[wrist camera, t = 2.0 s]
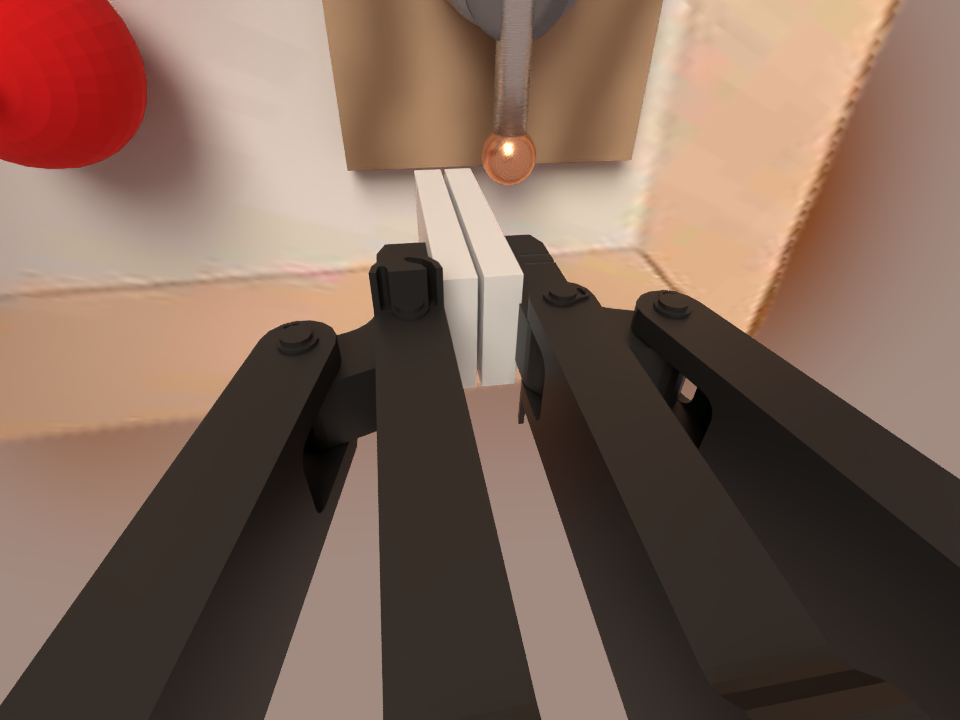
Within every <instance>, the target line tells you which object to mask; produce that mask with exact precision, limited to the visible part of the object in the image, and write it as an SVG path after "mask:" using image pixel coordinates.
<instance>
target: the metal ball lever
mask: <svg viewBox="0 0 960 720" xmlns="http://www.w3.org/2000/svg"><path fill="white" fill-rule="evenodd" d="M446 1H447V3H448V4H449V5H450V6H451V7H452V8H453V9H454V10H455V11H456V12H457V13H458V14H460V15H461V16H462V17H463V18H465V19H466V20H468V21H470V22H471V23H473V24H475V25H477V26H479V27H480V28H481V29H482V30H483V31H484V32H485V33H486V34H488V35H489V36H491V37H492V38H494V39H496V51H495V85H494V120H493V132H492V133H491V134H490V135H489V136H488V138H487V139H486V141H485V143H484V145H483V148H482V164H483V167H484V169H485V171H486V173H487V174H488V176H489V177H490V178H491V179H492V180H494V181H495V182H497V183H499V184H503V185H514V184H517V183H520V182H521V181H523V180H524V179H526V178H527V177H528V176H529V175H530V173H531V172H532V170H533V168H534V165H535V162H536V148H535V145H534V142H533V140H532V138H531V137H530V136H529V134H528V133H527V124H528V109H529V95H530V80H531V66H532V51H533V41H535V40H537V39H538V38H540V37H542V36H543V35H545V34H546V33H547V32H548V31H549V30H550V29H551V28H552V27H553V26H554V25H555V24H556V23H557V21H558V20H559V19H560V18H561V17H563V16H564V15H565V14H566V13H567V12H568V11H569V10H570V9H571V8H572V7H573V6H574V5H575V3H576V2H577V1H578V0H446Z"/></svg>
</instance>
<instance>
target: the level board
mask: <svg viewBox="0 0 960 720" xmlns="http://www.w3.org/2000/svg"><path fill="white" fill-rule="evenodd" d="M322 2H323V9H324V15H325V22H326V29H327V35H328V42H329V49H330V55H331V62H332V69H333V76H334V82H335V89H336V96H337V102H338V109H339V116H340V122H341V129H342V136H343V143H344V149H345V156H346V163H347V169H348V171H353V170H380V169H406V168H433V167H459V166H483V164H482V148H483V145H484V143H485V141H486V139H487V138H488V136H489V135H490V134H491V133H492V132H493V120H494V85H495V51H496V39H494V38H492V37H491V36H489V35H488V34H486V33H485V32H484V31H483V30H482V29H481V28H480V27H479V26H477V25H475V24H473V23H471V22H470V21H468V20H466V19H465V18H463V17H462V16H461V15H460V14H458V13H457V12H456V11H455V10H454V9H453V8H452V7H451V6H450V5H449V4H448V3H447V1H446V0H322ZM662 2H663V0H578V1H577V2H576V3H575V5H574V6H573V7H572V8H571V9H570V10H569V11H568V12H567V13H566V14H565V15H564V16H563V17H561V18H560V19H559V20H558V21H557V23H556V24H555V25H554V26H553V27H552V28H551V29H550V30H549V31H548V32H547V33H546V34H545V35H543V36H542V37H540V38H538V39H537V40H535V41H533V51H532V66H531V80H530V95H529V109H528V124H527V133H528V134H529V136H530V137H531V138H532V140H533V142H534V145H535V148H536V162H535V164H539V163H565V162H592V161H618V160H631V158H632V153H633V148H634V143H635V138H636V133H637V128H638V123H639V118H640V113H641V108H642V103H643V98H644V93H645V88H646V83H647V78H648V73H649V68H650V63H651V58H652V52H653V47H654V42H655V37H656V32H657V27H658V22H659V17H660V12H661V7H662Z"/></svg>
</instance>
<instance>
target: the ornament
mask: <svg viewBox="0 0 960 720" xmlns="http://www.w3.org/2000/svg"><path fill="white" fill-rule="evenodd" d="M146 104H147V80H146V75H145V70H144V65H143V61H142V58H141V56H140V53H139V50H138V48H137V45H136V43H135V41H134V39H133V37H132V35H131V34H130V32H129V30H128V28H127V27H126V25H125V23H124V21H123V20H122V19H121V17H120V16H119V15H118V13H117V12H116V11H115V10H114V8H113V7H112V6H111V4H110V3H109V2H108V1H107V0H0V159H2V160H5V161H8V162H12V163H16V164H20V165H23V166H27V167H36V168H45V169H65V168H79V167H83V166H86V165H90V164H93V163H97V162H99V161H102V160H104V159H106V158H108V157H110V156H112V155H113V154H115V153H117V152H118V151H120V150H121V149H122V148H123V147H124V146H125V145H126V144H127V143H128V142H129V141H130V140H131V138H132V137H133V136H134V135H135V133H136V132H137V130H138V128H139V126H140V124H141V122H142V120H143V117H144V112H145V108H146Z"/></svg>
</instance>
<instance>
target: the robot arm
mask: <svg viewBox="0 0 960 720" xmlns="http://www.w3.org/2000/svg"><path fill="white" fill-rule="evenodd" d="M444 170H445V181H444V179H443V176H442V173H441V170H440V169H436V170H414V176H415V190H416V205H417V220H418V235H419V243H405V244H388V245H384V246H383V248H382V249H381V250H380V251H379V252H378V253H377V263H375V264H374V265H373V266H371V269H370V271H369V279H370V286H371V293H372V300H373V308H374V317H373V319H372V320H370V321H369V322H368V323H367V324H365V325H364V326H362V327H360V328H358V329H356V330H353V331H350V332H347V333H344V334H340V335H336V333H335V332H334V330H333V328H332V327H330V326H328V325H326V324H325V323H322V322H316V321H310V320H309V321H295V322H291V323H286V324H283V325H281V326H279V327H277V328H275V329H273V330H271V331H269V332H268V333H267V334H266V335H264V336H263V337H262V338H261V339H260V340H259V342H258V343H257V345H256V346H255V347H254V349H253V350H252V352H251V353H250V354H249V356H248V357H247V359H246V360H245V361H244V363H243V364H242V366H241V367H240V369H239V370H238V371H237V373H236V374H235V376H234V377H233V378H232V380H231V381H230V383H229V384H228V385H227V387H226V388H225V390H224V391H223V392H222V394H221V395H220V397H219V398H218V400H217V401H216V402H215V404H214V405H213V407H212V408H211V409H210V411H209V412H208V414H207V415H206V416H205V418H204V419H203V421H202V422H201V423H200V425H199V426H198V428H197V429H196V431H195V432H194V434H193V435H192V436H191V438H190V439H189V441H188V442H187V443H186V445H185V446H184V447H183V449H182V451H181V452H180V453H179V454H178V456H177V457H176V459H175V460H174V462H173V463H172V464H171V466H170V467H169V469H168V470H167V471H166V473H165V474H164V476H163V477H162V479H161V480H160V482H159V483H158V484H157V485H156V487H155V488H154V490H153V491H152V493H151V494H150V495H149V497H148V498H147V500H146V501H145V502H144V504H143V505H142V507H141V508H140V510H139V511H138V512H137V514H136V515H135V517H134V518H133V520H132V521H131V522H130V524H129V525H128V526H127V528H126V529H125V531H124V532H123V534H122V535H121V536H120V538H119V539H118V540H117V542H116V543H115V545H114V546H113V548H112V549H111V550H110V552H109V553H108V555H107V556H106V557H105V559H104V560H103V562H102V563H101V564H100V566H99V567H98V569H97V570H96V571H95V573H94V574H93V576H92V577H91V578H90V580H89V581H88V583H87V584H86V586H85V587H84V589H83V590H82V591H81V593H80V594H79V595H78V597H77V598H76V600H75V601H74V602H73V604H72V605H71V607H70V608H69V609H68V611H67V612H66V614H65V615H64V617H63V618H62V619H61V621H60V622H59V624H58V625H57V626H56V628H55V629H54V631H53V632H52V634H51V635H50V636H49V638H48V639H47V640H46V642H45V643H44V645H43V646H42V648H41V649H40V650H39V652H38V653H37V655H36V656H35V657H34V659H33V660H32V662H31V663H30V664H29V666H28V667H27V669H26V670H25V672H24V673H23V674H22V676H21V677H20V679H19V680H18V681H17V683H16V684H15V686H14V687H13V688H12V690H11V691H10V693H9V694H8V695H7V697H6V698H5V700H4V701H3V702H2V704H1V705H0V720H264V718H265V715H266V712H267V709H268V706H269V703H270V700H271V697H272V694H273V691H274V688H275V685H276V683H277V680H278V677H279V674H280V671H281V668H282V665H283V662H284V659H285V656H286V653H287V650H288V647H289V644H290V641H291V639H292V636H293V633H294V630H295V627H296V624H297V621H298V618H299V615H300V612H301V609H302V606H303V603H304V600H305V597H306V595H307V592H308V589H309V586H310V583H311V580H312V577H313V574H314V571H315V568H316V565H317V562H318V559H319V556H320V553H321V550H322V547H323V545H324V542H325V539H326V536H327V533H328V530H329V527H330V524H331V521H332V518H333V515H334V512H335V509H336V507H337V504H338V500H339V498H340V495H341V492H342V489H343V486H344V483H345V480H346V477H347V474H348V471H349V468H350V466H351V463H352V459H353V457H354V454H355V450H356V447H357V438H359V437H362V436H365V435H367V434H370V433H373V432H375V431H377V454H378V455H377V456H378V503H379V547H380V590H381V635H382V678H383V720H541V717H540V713H539V709H538V706H537V702H536V697H535V693H534V689H533V685H532V680H531V676H530V672H529V667H528V663H527V659H526V654H525V650H524V646H523V642H522V637H521V633H520V629H519V625H518V620H517V616H516V612H515V607H514V603H513V600H512V595H511V590H510V586H509V582H508V578H507V573H506V569H505V565H504V560H503V556H502V552H501V548H500V543H499V539H498V535H497V530H496V527H495V523H494V518H493V513H492V509H491V505H490V501H489V497H488V492H487V488H486V483H485V480H484V475H483V471H482V466H481V462H480V458H479V453H478V450H477V445H476V441H475V437H474V432H473V428H472V424H471V419H470V415H469V411H468V406H467V402H466V398H465V394H464V389H465V388H475V387H476V383H477V370H478V374H479V378H480V382H481V385H482V387H485V386H494V385H504V384H514V383H515V379H516V366H518V369H519V372H520V374H521V377H522V380H521V392H520V402H519V414H518V422H519V424H522V423H524V415H525V413H526V416H527V418H528V422H529V424H530V427H531V431H532V433H533V436H534V439H535V442H536V445H537V448H538V451H539V454H540V457H541V460H542V463H543V466H544V469H545V472H546V475H547V478H548V481H549V484H550V487H551V490H552V493H553V496H554V499H555V502H556V505H557V508H558V511H559V514H560V517H561V520H562V523H563V526H564V529H565V532H566V535H567V538H568V541H569V544H570V547H571V550H572V553H573V556H574V559H575V562H576V565H577V568H578V571H579V574H580V577H581V580H582V582H583V586H584V589H585V591H586V595H587V598H588V601H589V603H590V607H591V610H592V613H593V615H594V619H595V622H596V625H597V628H598V631H599V634H600V636H601V640H602V643H603V645H604V649H605V651H606V655H607V657H608V661H609V663H610V666H611V669H612V672H613V675H614V678H615V681H616V684H617V687H618V690H619V693H620V696H621V699H622V702H623V705H624V708H625V711H626V714H627V717H628V720H960V479H959V478H957V477H956V476H954V475H953V474H951V473H950V472H948V471H947V470H945V469H944V468H942V467H941V466H939V465H938V464H937V463H935V462H934V461H932V460H931V459H929V458H928V457H926V456H925V455H923V454H922V453H920V452H919V451H917V450H916V449H914V448H913V447H912V446H910V445H909V444H907V443H906V442H904V441H903V440H901V439H900V438H898V437H897V436H895V435H894V434H892V433H891V432H890V431H888V430H887V429H885V428H884V427H882V426H881V425H879V424H878V423H876V422H875V421H873V420H872V419H871V418H869V417H868V416H866V415H865V414H863V413H862V412H860V411H859V410H857V409H856V408H854V407H853V406H851V405H850V404H848V403H847V402H846V401H844V400H843V399H841V398H840V397H838V396H837V395H835V394H834V393H832V392H831V391H829V390H828V389H827V388H825V387H824V386H822V385H821V384H819V383H818V382H816V381H815V380H813V379H812V378H810V377H809V376H807V375H806V374H805V373H803V372H802V371H800V370H798V369H797V368H796V367H794V366H793V365H791V364H790V363H788V362H787V361H785V360H784V359H783V358H781V357H780V356H778V355H776V354H775V353H774V352H772V351H771V350H769V349H767V348H766V347H765V346H763V345H762V344H761V343H759V342H758V341H756V340H755V339H753V338H752V337H750V336H749V335H747V334H746V333H744V332H743V331H741V330H740V329H739V328H737V327H736V326H734V325H733V324H731V323H730V322H728V321H727V320H725V319H724V318H722V317H721V316H719V315H718V314H716V313H715V312H714V311H712V310H711V309H709V308H708V307H706V306H705V305H703V304H702V303H700V302H699V301H697V300H695V299H693V298H691V297H689V296H687V295H684V294H680V293H678V292H676V291H670V290H669V291H668V290H660V291H651V292H648V293H645V294H643V295H641V296H640V297H639V299H638V300H637V302H636V306H635V310H634V311H630V310H621V309H611V308H606V307H602V306H601V305H600V303H599V302H598V300H597V299H596V297H595V296H594V295H593V294H592V293H591V292H590V291H589V290H588V289H587V288H585V287H582V286H580V285H578V284H575V283H570V282H567V281H566V279H565V277H564V276H563V274H562V273H561V271H560V269H559V268H558V266H557V265H556V263H555V262H554V260H553V258H552V257H551V255H550V254H549V252H548V251H547V249H546V247H545V246H544V244H543V243H542V242H541V241H539V240H537V239H536V238H534V237H532V236H531V235H514V236H504V234H503V232H502V230H501V228H500V226H499V224H498V222H497V220H496V218H495V216H494V214H493V213H492V211H491V209H490V207H489V205H488V203H487V201H486V199H485V197H484V195H483V193H482V191H481V189H480V187H479V185H478V183H477V181H476V179H475V177H474V175H473V173H472V171H471V169H470V168H463V169H444ZM685 378H687V379H688V380H690V381H691V382H692V383H693V384H694V385H695V386H697V390H696V392H695V395H694V397H693V399H692V400H689V399H688V398H686V397H685V396H684V395H683V394H681V393H680V392H681V390H682V387H683V384H684V381H685Z"/></svg>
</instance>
